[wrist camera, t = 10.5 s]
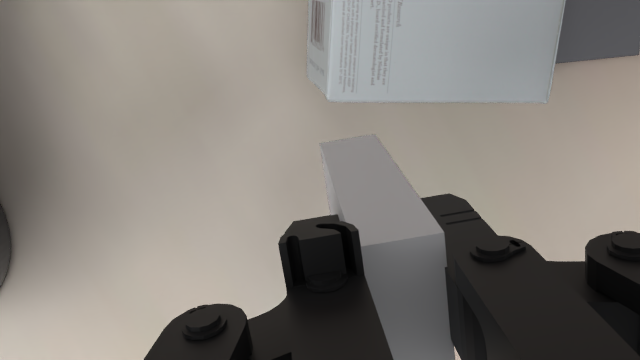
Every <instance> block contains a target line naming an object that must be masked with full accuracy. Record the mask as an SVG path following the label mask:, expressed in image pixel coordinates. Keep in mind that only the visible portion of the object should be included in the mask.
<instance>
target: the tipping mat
mask: <svg viewBox="0 0 640 360" xmlns="http://www.w3.org/2000/svg"><path fill="white" fill-rule="evenodd" d="M639 49H640V0H566V1H565V8H564V13H563V19H562V25H561V31H560V37H559V43H558V49H557V55H556V61H555V63H565V62H574V61H584V60H594V59H604V58H614V57H623V56H633V55H639Z"/></svg>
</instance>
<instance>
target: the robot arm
mask: <svg viewBox="0 0 640 360" xmlns="http://www.w3.org/2000/svg"><path fill="white" fill-rule="evenodd" d="M320 149H321V156H322V163H323V169H324V176H325V183H326V189H327V196H328V202H329V209H330V215H329V216H323V217H317V218H311V219H305V220H299V221H293V223H292V224H291V225H290V227H289V228H288V229H287V230H286V232H285V234H284V235H283V236H282V237H281V238H280V241H279V243H278V245H279V251H280V256H281V261H282V267H283V272H284V278H285V283H286V289H287V296H286V298H285V299H284V300H283V301H282V302H281V303H280V304H279V305H278V306H276V307H275V308H273V309H272V310H270V311H268V312H266V313H264V314H262V315H259V316H257V317H254V318H251V319H249V320H247V316H246V314H245V313H244V312H243V310H242V309H241V308H238V307H236V306H233V305H230V304H212V305H202V306H198V307H197V308H192V309H190V310H188V311H186V312H185V313H183V314H181V315H180V316H178V317H176V318H175V319H173V320H172V321H171V322H170V323H169V324H168V325H167V326H166V327H165V328H164V330H163V331H162V333H161V334H160V336H159V337H158V339H157V340H156V342H155V343H154V345H153V346H152V348H151V349H150V351H149V352H148V354H147V355H146V357H145V358H144V360H455V354H454V346H455V348H456V350H457V352H458V354H459V356H460V358H461V360H640V233H637V232H634V231H624V232H622V231H617V232H612V233H609V234H604V235H600V236H598V237H596V238H593V239H591V240H590V241H589V242H588V244H587V245H586V247H585V261H581V262H555V261H546V260H545V259H544V258H543V257H542V256H541V255H540V254H539V253H538V252H537V251H536V250H535V249H534V248H533V247H532V246H531V245H529V244H528V243H526V242H524V241H523V240H520V239H517V238H513V237H509V236H498V235H497V234H496V233H495V232H494V231H493V230H492V229H491V228H490V226H489V225H488V224H487V223H486V222H485V221H484V220H483V219H481V216H480V215H479V214H478V213H477V212H476V211H474V209H473V208H472V206H471V205H470V204H469V203H468V202H467V201H466V200H464V199H462V198H459V197H457V196H454V195H452V194H443V195H437V196H432V197H426V198H420V197H419V196H418V194H417V193H416V191H415V190H414V189H413V187H412V186H411V184H410V183H409V182H408V180H407V179H406V177H405V176H404V174H403V173H402V172H401V170H400V169H399V167H398V166H397V164H396V163H395V162H394V160H393V159H392V157H391V156H390V154H389V153H388V152H387V150H386V149H385V147H384V146H383V145H382V143H381V142H380V140H379V139H378V137H377V136H376V135H375V134H372V135H366V136H360V137H354V138H348V139H341V140H335V141H329V142H323V143H320ZM10 253H11V241H10V233H9V227H8V223H7V220H6V217H5V214H4V211H3V209H2V206H1V204H0V287H1V285H2V283H3V281H4V278H5V276H6V273H7V270H8V266H9V261H10Z"/></svg>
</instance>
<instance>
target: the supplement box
mask: <svg viewBox="0 0 640 360" xmlns="http://www.w3.org/2000/svg"><path fill="white" fill-rule="evenodd" d="M565 1H566V0H308V34H307V78H308V79H309V80H310V81H312V82H313V83H314V84H315V85H316V86H317V87H318V88H319V89H320V90H321V92H322V93H323V94H324V95H325V97H326V99H327V100H328V101H329V102H375V103H379V102H382V103H389V102H395V103H543V104H546V103H547V102H548V100H549V96H550V91H551V85H552V79H553V73H554V67H555V61H556V55H557V49H558V43H559V37H560V31H561V25H562V19H563V13H564V8H565Z"/></svg>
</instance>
